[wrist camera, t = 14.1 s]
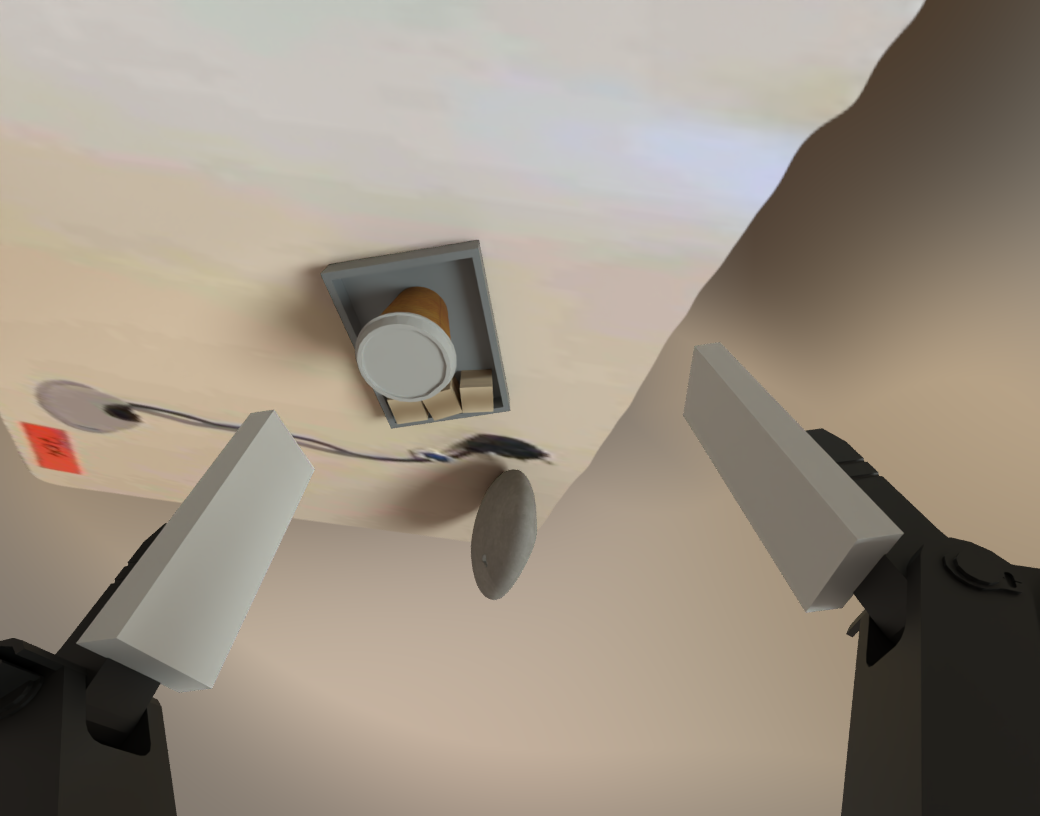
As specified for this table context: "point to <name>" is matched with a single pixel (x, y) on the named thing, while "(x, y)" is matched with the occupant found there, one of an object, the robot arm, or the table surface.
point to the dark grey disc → (503, 534)
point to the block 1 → (408, 411)
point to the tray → (454, 278)
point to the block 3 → (476, 391)
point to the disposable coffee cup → (408, 347)
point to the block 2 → (445, 401)
